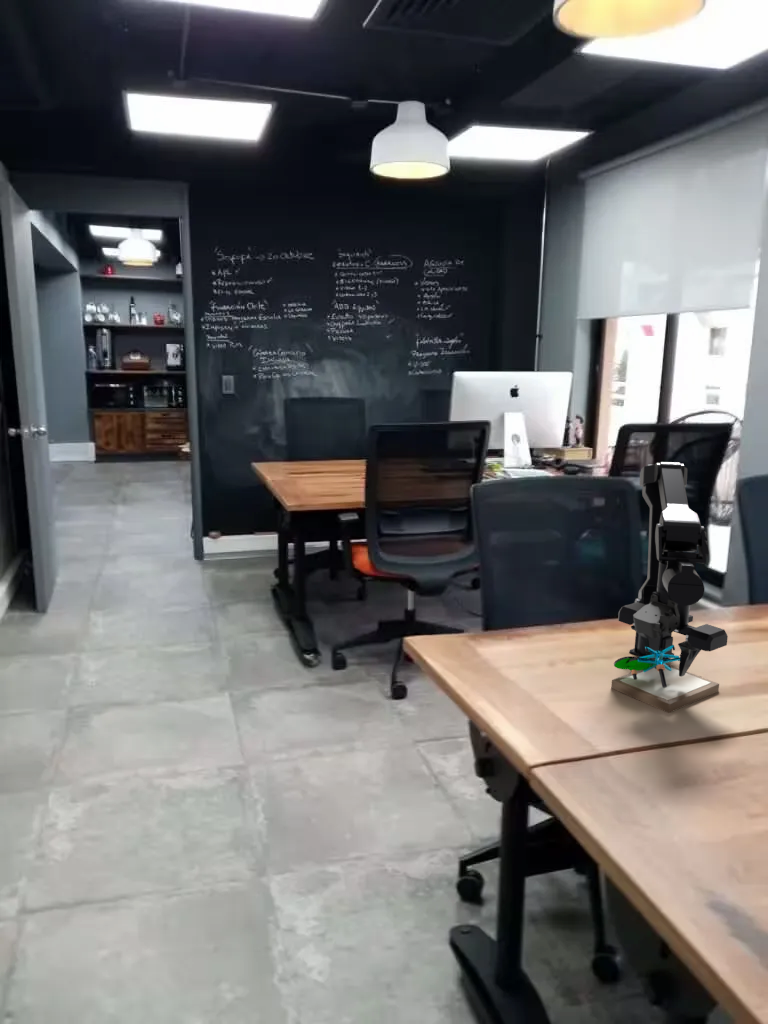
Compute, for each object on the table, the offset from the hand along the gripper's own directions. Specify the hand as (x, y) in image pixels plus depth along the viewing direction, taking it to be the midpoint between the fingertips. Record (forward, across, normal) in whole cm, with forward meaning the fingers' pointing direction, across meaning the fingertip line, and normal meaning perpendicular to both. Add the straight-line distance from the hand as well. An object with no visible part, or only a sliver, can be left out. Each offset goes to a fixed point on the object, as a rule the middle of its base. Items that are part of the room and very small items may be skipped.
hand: (666, 670), depth 138 cm
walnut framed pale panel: (+4, 0, 0) cm, 4 cm away
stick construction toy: (+2, -2, -1) cm, 3 cm away
